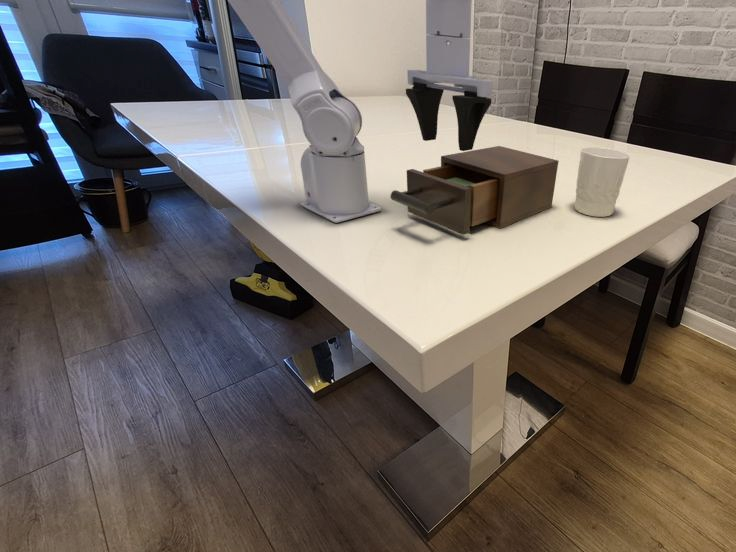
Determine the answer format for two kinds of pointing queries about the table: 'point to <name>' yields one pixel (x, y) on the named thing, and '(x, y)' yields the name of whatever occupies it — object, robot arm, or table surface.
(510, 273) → the table surface
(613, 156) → the white cup
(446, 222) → the drawer
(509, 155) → the cabinet
